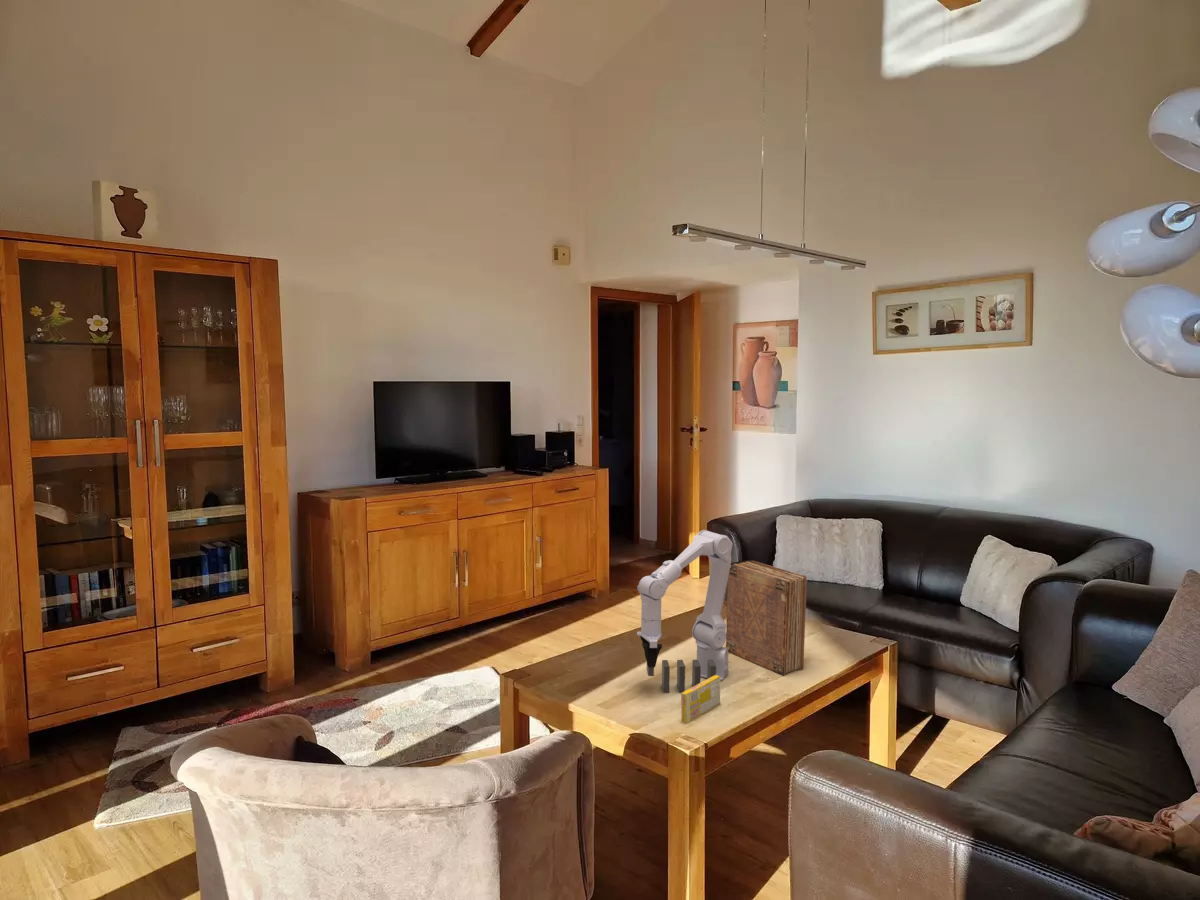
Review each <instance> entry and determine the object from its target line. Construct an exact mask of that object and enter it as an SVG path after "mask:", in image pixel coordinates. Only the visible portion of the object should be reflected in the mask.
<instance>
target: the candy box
mask: <svg viewBox="0 0 1200 900" xmlns="http://www.w3.org/2000/svg"><path fill="white" fill-rule="evenodd" d="M680 695H681V698H680V699H681V700H680V702H681V707H680V708H681V710H680V711H681V719H680V720H681V722H682V723H684V724H688V723H690V722H692V721H693V720H695V719H697V718H699V717H701V716H703V715H704V714H706V713H707V712H709V711H711V710H712V709H714V708H716V707H718V706H719V705H721V680H720V676H717V675H714V676H712V677H710V678H708V679H707V678H706V679H705V680H703V681H700V683H699V684H697V685H695V686H694V687H692V686H691V687H690V688H688V689H686V690H685V691H684V692H682V693H680Z"/></svg>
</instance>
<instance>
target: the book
mask: <svg viewBox="0 0 1200 900" xmlns="http://www.w3.org/2000/svg"><path fill="white" fill-rule="evenodd" d="M807 582H808V577H807V575H804V574H800V573H797V572H794V571H790V570H787V569H782V568H780V567H776V566H773V565H769V564H765V563H763V562H759V561H756V560H751V559H744V560H739V561H735V562H731V565H730V570H729V576H728V581H727V587H726V622H725V624H726V641H725V648H728V654H729V653H730V654H732V655H734V656H736V657H739V658H741V659H743V660H745V661H748V662H750V663H752V664H754V665H756V666H760V667H761V668H763V669H766V670H768V671H770V672H772V673H775V674H777V675H779V676H782V677H785V675H786V673H790V672H793V671H797V670H801V671H802V670H804V666H805V665H804V664H805V662H804V661H805V639H806V638H805V637H806V615H807V614H806V612H807V611H806V607H807V584H808V583H807Z"/></svg>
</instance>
